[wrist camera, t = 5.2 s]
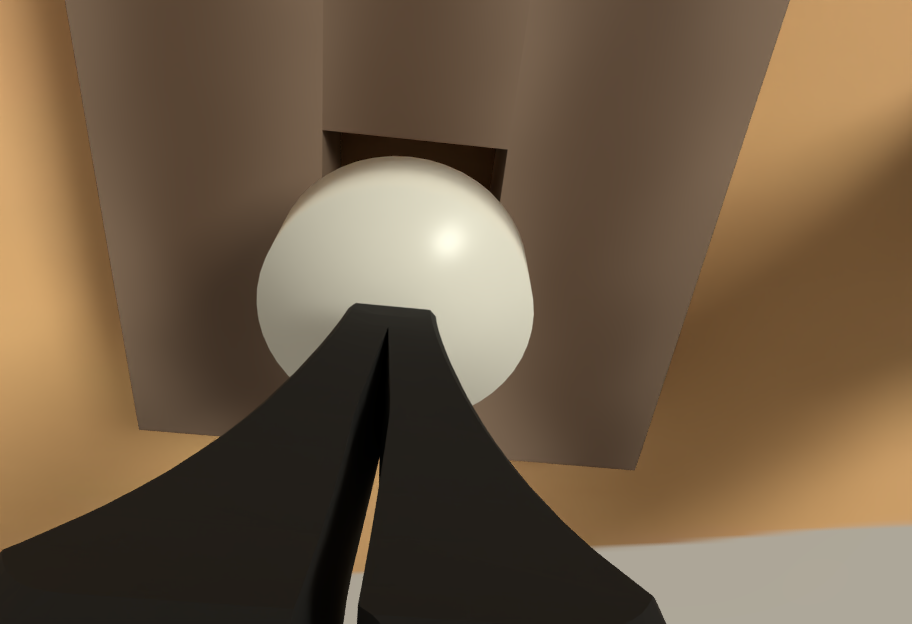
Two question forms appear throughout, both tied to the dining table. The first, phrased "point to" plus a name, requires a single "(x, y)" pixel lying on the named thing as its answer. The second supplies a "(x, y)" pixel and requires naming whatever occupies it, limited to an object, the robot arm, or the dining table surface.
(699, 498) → the dining table surface
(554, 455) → the console
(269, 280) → the button
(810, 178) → the dining table surface
